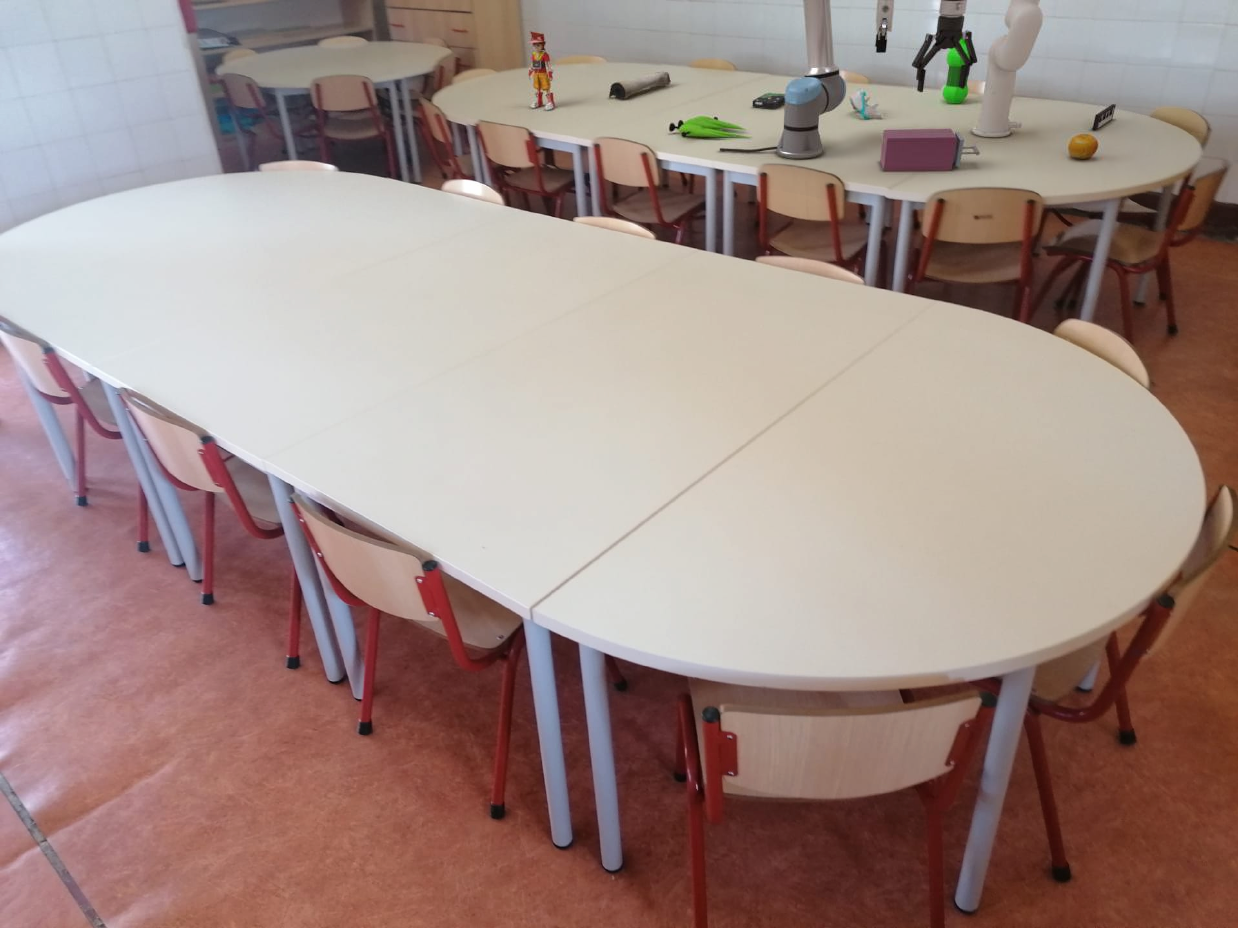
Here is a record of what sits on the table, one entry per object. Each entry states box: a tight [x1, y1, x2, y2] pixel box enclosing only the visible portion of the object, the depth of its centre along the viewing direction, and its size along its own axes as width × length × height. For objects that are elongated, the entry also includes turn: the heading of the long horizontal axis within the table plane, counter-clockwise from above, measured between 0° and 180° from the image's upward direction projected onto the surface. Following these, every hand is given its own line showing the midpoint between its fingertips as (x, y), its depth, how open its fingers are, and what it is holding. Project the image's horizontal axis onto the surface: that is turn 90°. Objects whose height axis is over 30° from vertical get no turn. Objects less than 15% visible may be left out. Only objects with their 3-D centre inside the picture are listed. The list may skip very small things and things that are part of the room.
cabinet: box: [879, 128, 957, 172], centre depth 288 cm, size 21×10×10 cm, turn 83°
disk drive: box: [752, 92, 785, 110], centre depth 366 cm, size 10×3×15 cm
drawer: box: [953, 131, 981, 167], centre depth 288 cm, size 26×9×8 cm, turn 83°
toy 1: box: [527, 31, 556, 111], centre depth 374 cm, size 12×9×30 cm
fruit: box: [1067, 133, 1099, 160], centre depth 287 cm, size 8×8×8 cm
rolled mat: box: [608, 71, 672, 101], centre depth 395 cm, size 30×9×10 cm
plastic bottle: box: [942, 37, 970, 104], centre depth 348 cm, size 10×10×25 cm
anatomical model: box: [849, 88, 884, 120], centre depth 343 cm, size 15×10×10 cm
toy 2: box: [668, 115, 748, 138], centre depth 334 cm, size 28×5×30 cm
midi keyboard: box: [1091, 103, 1117, 131], centre depth 317 cm, size 18×1×5 cm, turn 138°
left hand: (940, 89), depth 282 cm, fingers open, 13 cm apart
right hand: (880, 49), depth 305 cm, fingers open, 9 cm apart
